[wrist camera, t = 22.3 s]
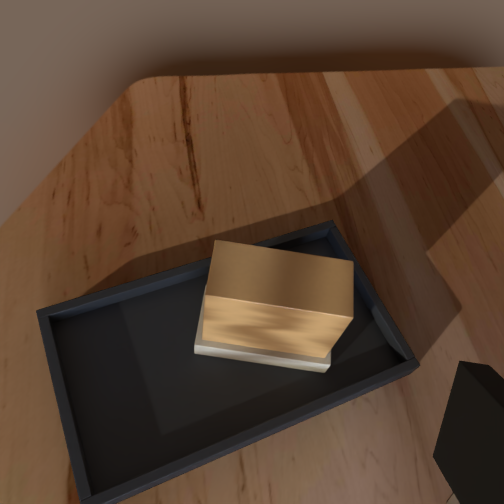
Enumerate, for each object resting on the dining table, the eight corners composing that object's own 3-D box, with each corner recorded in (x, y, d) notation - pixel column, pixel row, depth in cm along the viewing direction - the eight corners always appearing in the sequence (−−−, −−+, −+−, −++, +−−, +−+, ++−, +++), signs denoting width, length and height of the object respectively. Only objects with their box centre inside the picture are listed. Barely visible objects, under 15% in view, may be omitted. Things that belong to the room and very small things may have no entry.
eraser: (194, 353, 40) (195, 300, 31) (205, 294, 43) (209, 231, 34) (324, 373, 40) (361, 326, 32) (326, 313, 43) (360, 256, 35)
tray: (43, 321, 41) (35, 310, 39) (326, 232, 49) (332, 219, 47) (88, 515, 34) (82, 513, 32) (410, 373, 42) (420, 365, 40)
